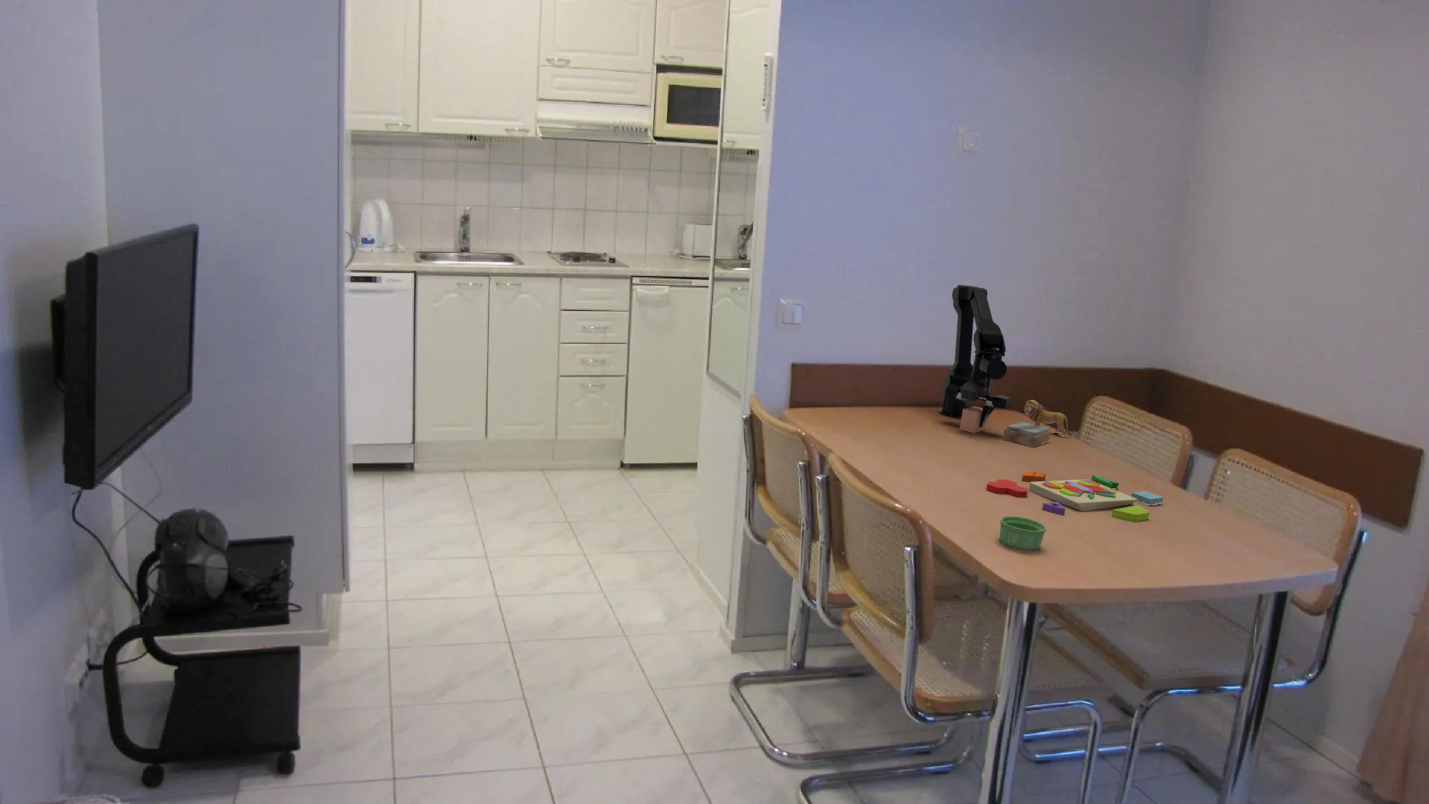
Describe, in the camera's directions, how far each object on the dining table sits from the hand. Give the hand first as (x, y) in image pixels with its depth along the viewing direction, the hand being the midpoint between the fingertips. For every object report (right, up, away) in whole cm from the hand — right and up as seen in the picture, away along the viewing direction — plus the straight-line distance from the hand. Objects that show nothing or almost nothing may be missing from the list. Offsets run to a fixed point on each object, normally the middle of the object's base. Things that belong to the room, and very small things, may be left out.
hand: (973, 425), depth 332 cm
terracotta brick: (0, -1, 0) cm, 1 cm away
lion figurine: (+23, -3, +9) cm, 25 cm away
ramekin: (-13, -22, -101) cm, 104 cm away
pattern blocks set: (+12, -17, -60) cm, 63 cm away
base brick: (+14, -4, -6) cm, 15 cm away
